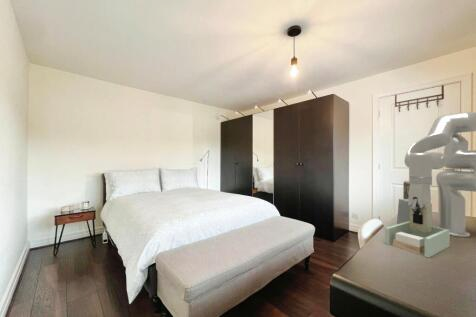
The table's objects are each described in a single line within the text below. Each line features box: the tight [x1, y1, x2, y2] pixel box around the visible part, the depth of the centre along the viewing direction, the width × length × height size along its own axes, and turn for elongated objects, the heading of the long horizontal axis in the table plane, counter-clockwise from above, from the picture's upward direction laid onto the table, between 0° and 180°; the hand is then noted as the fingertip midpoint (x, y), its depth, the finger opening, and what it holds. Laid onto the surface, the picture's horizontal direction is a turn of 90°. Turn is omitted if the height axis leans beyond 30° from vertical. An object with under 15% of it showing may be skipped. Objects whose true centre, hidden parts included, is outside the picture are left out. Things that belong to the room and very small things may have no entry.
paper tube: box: [402, 180, 410, 199], centre depth 116 cm, size 7×7×25 cm
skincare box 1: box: [396, 198, 410, 225], centre depth 108 cm, size 8×7×16 cm
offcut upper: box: [395, 232, 425, 247], centre depth 84 cm, size 5×8×3 cm, turn 29°
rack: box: [384, 221, 451, 258], centre depth 88 cm, size 22×14×7 cm, turn 120°
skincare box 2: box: [410, 203, 433, 233], centre depth 90 cm, size 6×4×12 cm
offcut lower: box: [392, 239, 425, 255], centre depth 85 cm, size 5×9×3 cm, turn 28°
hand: (420, 222), depth 90 cm, fingers closed on skincare box 2, 4 cm apart
